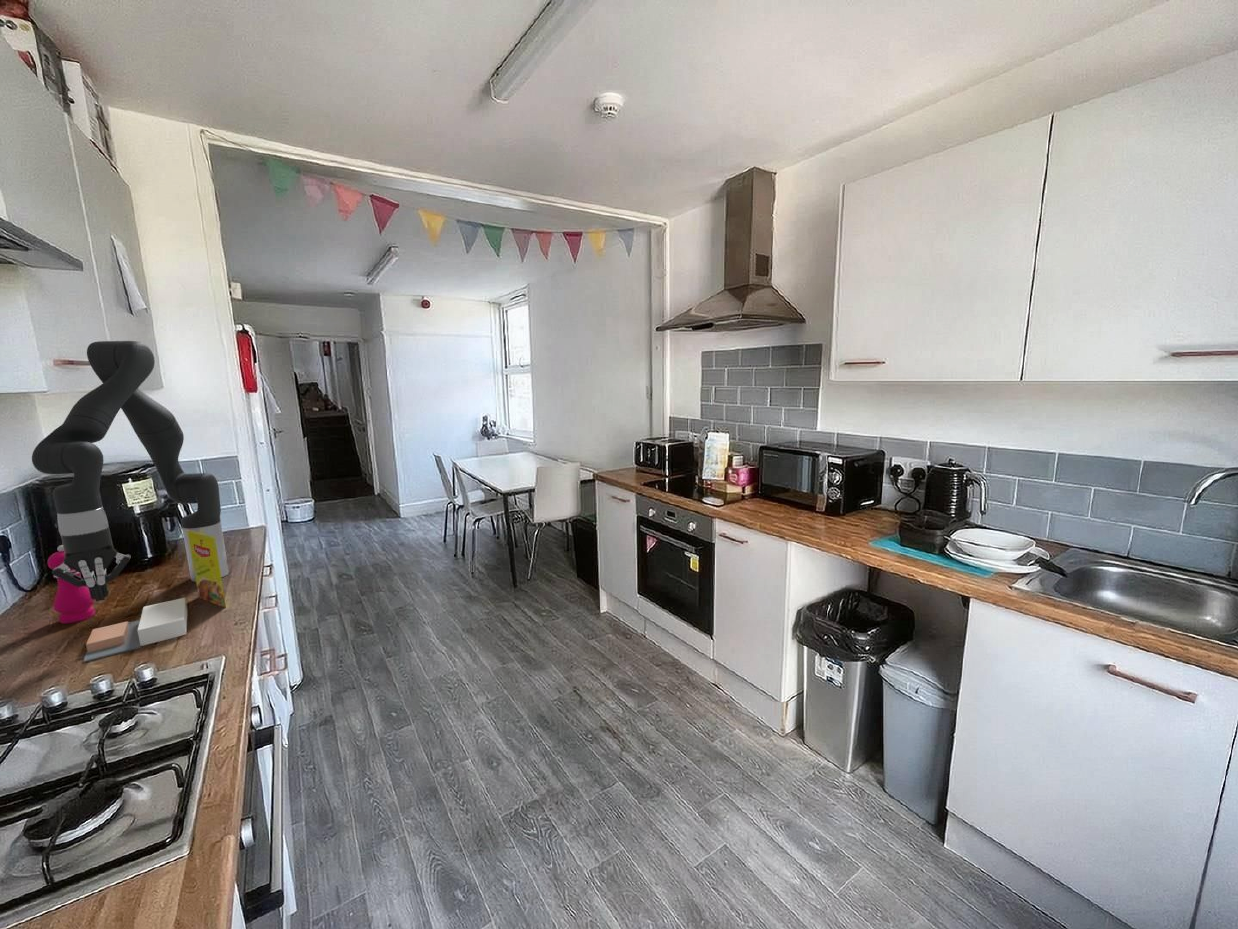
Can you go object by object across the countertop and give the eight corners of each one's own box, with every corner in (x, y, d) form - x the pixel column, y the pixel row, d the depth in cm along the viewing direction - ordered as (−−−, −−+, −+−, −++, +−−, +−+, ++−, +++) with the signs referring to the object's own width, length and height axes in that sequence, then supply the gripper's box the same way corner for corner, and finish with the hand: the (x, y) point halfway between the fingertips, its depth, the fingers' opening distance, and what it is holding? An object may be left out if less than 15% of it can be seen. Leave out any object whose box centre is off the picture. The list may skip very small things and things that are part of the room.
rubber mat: (96, 631, 120) (96, 630, 120) (146, 619, 126) (146, 618, 126) (83, 662, 107) (83, 661, 107) (140, 648, 112) (139, 646, 112)
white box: (146, 621, 125) (143, 606, 125) (187, 611, 130) (185, 597, 130) (140, 646, 113) (137, 630, 113) (186, 634, 118) (183, 619, 118)
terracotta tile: (127, 621, 120) (129, 628, 121) (92, 629, 117) (94, 637, 117) (123, 635, 114) (125, 643, 114) (86, 644, 110) (87, 652, 110)
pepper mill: (104, 613, 130) (89, 541, 127) (68, 626, 123) (51, 551, 120) (86, 610, 132) (71, 539, 129) (50, 622, 125) (33, 548, 122)
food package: (196, 597, 139) (184, 530, 135) (201, 596, 140) (189, 529, 136) (223, 608, 132) (212, 538, 128) (228, 606, 133) (217, 536, 129)
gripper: (127, 519, 118) (141, 586, 121) (44, 531, 109) (62, 602, 112) (123, 526, 112) (138, 596, 115) (36, 539, 104) (55, 614, 107)
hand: (101, 599), depth 114 cm, fingers closed
